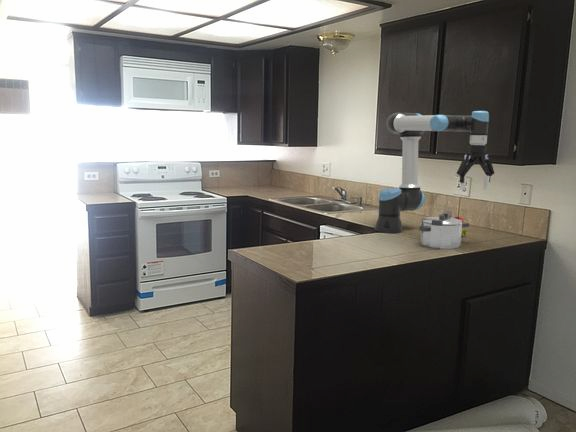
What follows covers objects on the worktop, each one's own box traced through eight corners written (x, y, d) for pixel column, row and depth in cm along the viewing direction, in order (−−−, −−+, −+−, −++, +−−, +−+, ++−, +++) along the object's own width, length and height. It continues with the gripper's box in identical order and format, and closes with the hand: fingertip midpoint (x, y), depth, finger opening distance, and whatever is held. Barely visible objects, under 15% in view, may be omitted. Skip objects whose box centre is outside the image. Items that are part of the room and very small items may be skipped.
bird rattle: (449, 240, 264) (465, 235, 258) (443, 220, 265) (458, 215, 259) (454, 238, 269) (470, 234, 263) (447, 219, 270) (463, 214, 264)
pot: (408, 243, 246) (410, 221, 244) (452, 238, 259) (454, 217, 257) (434, 250, 230) (436, 227, 229) (480, 245, 243) (481, 222, 242)
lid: (457, 227, 227) (457, 220, 226) (416, 224, 235) (416, 216, 235) (468, 218, 254) (468, 211, 254) (430, 214, 263) (431, 208, 262)
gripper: (461, 144, 226) (458, 191, 230) (504, 144, 235) (500, 189, 239) (450, 144, 233) (447, 189, 237) (493, 144, 242) (489, 187, 245)
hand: (474, 189), depth 238 cm, fingers open, 13 cm apart
